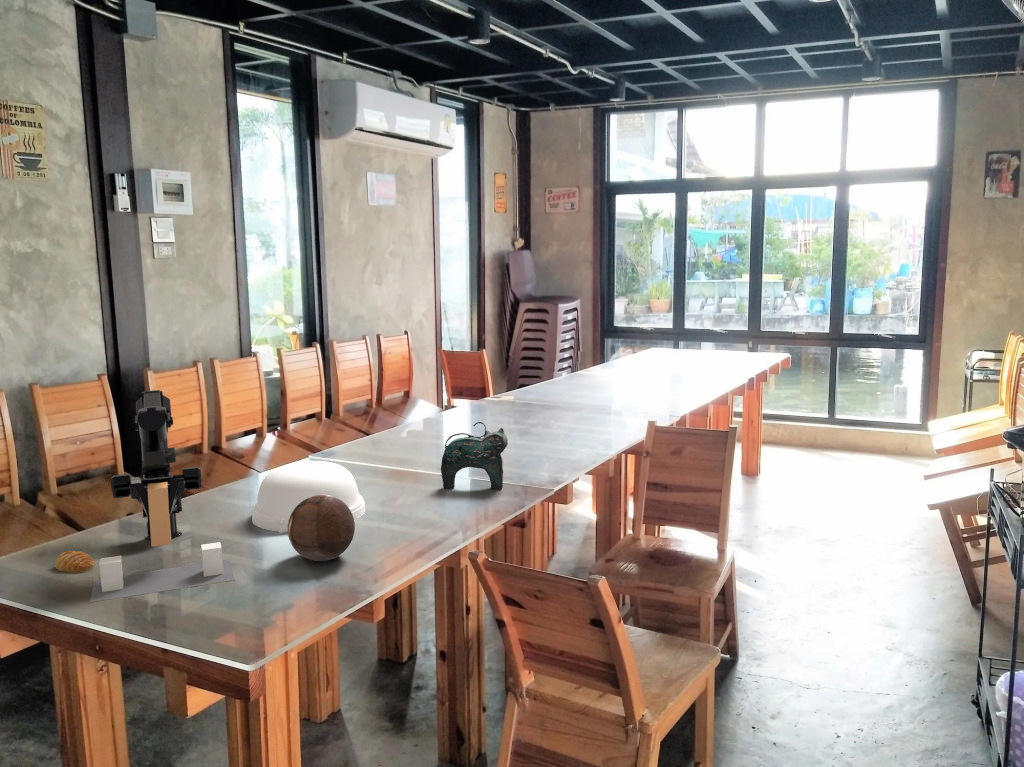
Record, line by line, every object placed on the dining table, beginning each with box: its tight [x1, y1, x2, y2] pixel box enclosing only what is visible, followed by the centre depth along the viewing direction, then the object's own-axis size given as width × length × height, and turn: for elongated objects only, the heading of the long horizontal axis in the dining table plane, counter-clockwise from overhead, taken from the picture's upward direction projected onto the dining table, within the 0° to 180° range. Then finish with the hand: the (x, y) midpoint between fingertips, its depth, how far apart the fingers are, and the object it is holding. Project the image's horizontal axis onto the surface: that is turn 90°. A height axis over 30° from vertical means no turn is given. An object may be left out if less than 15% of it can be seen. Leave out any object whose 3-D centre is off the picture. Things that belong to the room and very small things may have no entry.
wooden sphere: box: [287, 495, 356, 562], centre depth 196 cm, size 15×15×15 cm
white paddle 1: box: [98, 555, 124, 592], centre depth 180 cm, size 4×4×6 cm
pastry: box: [54, 550, 96, 574], centre depth 193 cm, size 9×7×4 cm
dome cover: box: [251, 460, 366, 534], centre depth 231 cm, size 32×30×14 cm
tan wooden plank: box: [148, 482, 172, 547], centre depth 191 cm, size 5×4×13 cm
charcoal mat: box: [89, 559, 235, 603], centre depth 185 cm, size 14×28×1 cm, turn 112°
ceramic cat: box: [440, 421, 509, 490], centre depth 254 cm, size 20×6×20 cm, turn 84°
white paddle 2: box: [200, 541, 223, 577], centre depth 188 cm, size 4×4×6 cm
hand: (159, 514), depth 189 cm, fingers closed on tan wooden plank, 4 cm apart
